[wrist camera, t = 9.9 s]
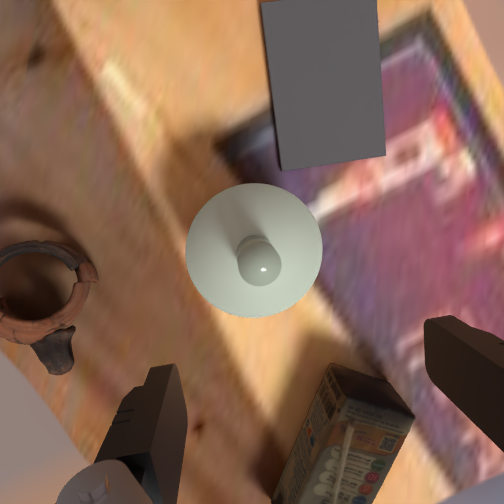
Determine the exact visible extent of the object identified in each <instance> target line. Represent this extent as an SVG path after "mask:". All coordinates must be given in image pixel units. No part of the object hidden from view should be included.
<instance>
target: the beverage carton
mask: <svg viewBox="0 0 504 504" xmlns="http://www.w3.org/2000/svg"><path fill="white" fill-rule="evenodd" d="M415 419H416V418H415V415H414V414H413V413H412V412H411V410H410V409H409V407H408V406H407V405H406V403H405V402H404V401H403V399H402V398H401V397H400V395H399V394H398V393H397V392H396V391H395V389H394V388H393V386H392V385H391V384H390V383H389V382H386V381H383V380H381V379H377V378H373V377H371V376H368V375H365V374H362V373H359V372H357V371H353V370H350V369H347V368H344V367H341V366H338V365H336V364H333V363H331V364H330V365H329V368H328V370H327V372H326V374H325V376H324V378H323V381H322V383H321V385H320V387H319V389H318V392H317V394H316V396H315V398H314V401H313V403H312V405H311V407H310V410H309V412H308V415H307V417H306V419H305V421H304V424H303V426H302V428H301V431H300V433H299V435H298V438H297V440H296V442H295V445H294V447H293V449H292V451H291V454H290V456H289V458H288V461H287V463H286V465H285V468H284V470H283V472H282V475H281V477H280V480H279V483H278V485H277V488H276V490H275V492H274V495H273V497H272V499H271V504H372V503H373V501H374V499H375V497H376V495H377V493H378V491H379V490H380V488H381V486H382V484H383V482H384V480H385V478H386V476H387V474H388V472H389V470H390V468H391V466H392V464H393V462H394V460H395V458H396V456H397V454H398V452H399V450H400V449H401V447H402V445H403V443H404V440H405V438H406V436H407V434H408V433H409V431H410V428H411V426H412V424H413V422H414V420H415Z"/></svg>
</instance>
